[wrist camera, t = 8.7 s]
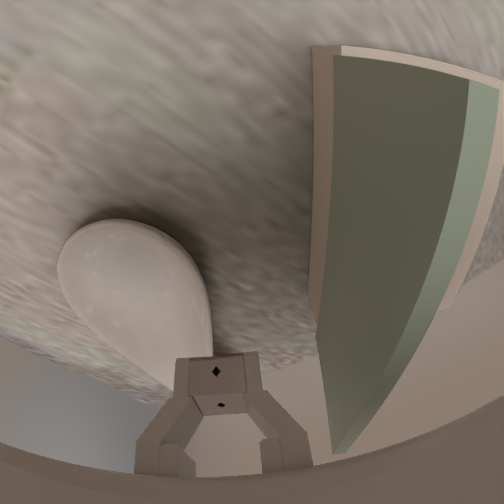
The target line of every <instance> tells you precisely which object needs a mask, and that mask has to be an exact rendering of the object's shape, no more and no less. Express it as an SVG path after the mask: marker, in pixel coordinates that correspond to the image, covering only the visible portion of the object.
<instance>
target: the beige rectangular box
mask: <svg viewBox="0 0 504 504" xmlns="http://www.w3.org/2000/svg"><path fill="white" fill-rule="evenodd" d="M333 55H342V56H354V57H363V58H371V59H378V60H385V61H392V62H398V63H403V64H409V65H414V66H419V67H423V68H428V69H432V70H436V71H440V72H444V73H448V74H452V75H456V76H459V77H463V78H466V79H469V80H473V81H476V82H479V83H482V84H485V85H488V86H491V87H494V88H496V89H499V90H500V93H499V103H498V111H497V119H496V126H495V132H494V138H493V143H492V149H491V154H490V159H489V163H488V168H487V172H486V176H485V180H484V184H483V188H482V192H481V196H480V199H479V203H478V206H477V210H476V213H475V216H474V219H473V222H472V225H471V228H470V231H469V234H468V237H467V240H466V243H465V246H464V248H463V251H462V254H461V256H460V259H459V261H458V264H457V267H456V269H455V271H454V274H453V276H452V279H451V281H450V283H449V286H448V288H447V290H446V292H445V295H444V297H443V299H442V301H441V303H440V305H439V307H438V309H437V312H440V311H444V310H448V309H451V307H452V305H453V303H454V301H455V299H456V297H457V295H458V293H459V291H460V289H461V287H462V285H463V282H464V280H465V278H466V276H467V273H468V271H469V269H470V267H471V264H472V262H473V259H474V257H475V254H476V252H477V249H478V247H479V244H480V242H481V239H482V236H483V233H484V231H485V228H486V225H487V222H488V219H489V216H490V213H491V210H492V207H493V203H494V200H495V197H496V193H497V190H498V186H499V182H500V178H501V174H502V170H503V166H504V81H501V80H499V79H496V78H493V77H491V76H488V75H485V74H482V73H479V72H476V71H473V70H469V69H466V68H463V67H459V66H456V65H452V64H448V63H445V62H441V61H437V60H432V59H428V58H424V57H419V56H414V55H409V54H404V53H398V52H392V51H386V50H379V49H371V48H363V47H353V46H342V45H336V46H312V69H313V117H314V148H313V199H312V225H311V245H310V263H309V278H308V292H307V293H308V296H309V299H310V303H311V306H312V309H313V312H314V316H315V319H316V323H317V325H318V317H319V310H320V302H321V294H322V285H323V276H324V267H325V257H326V247H327V236H328V223H329V210H330V195H331V177H332V155H333V115H334V79H333ZM437 312H436V313H437Z"/></svg>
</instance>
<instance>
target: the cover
mask: <svg viewBox="0 0 504 504" xmlns="http://www.w3.org/2000/svg"><path fill="white" fill-rule="evenodd" d="M333 79H334V115H333V155H332V177H331V195H330V210H329V223H328V236H327V247H326V257H325V267H324V276H323V285H322V294H321V302H320V310H319V317H318V325H317V332H316V341H317V347H318V353H319V359H320V364H321V365H320V366H321V372H322V379H323V385H324V392H325V399H326V406H327V413H328V422H329V429H330V437H331V445H332V454H340V453H345V452H346V451H347V450H348V449H349V447H350V446H351V445H352V444H353V442H354V441H355V440H356V439H357V438H358V436H359V435H360V434H361V432H362V431H363V430H364V429H365V427H366V426H367V425H368V423H369V422H370V420H371V419H372V418H373V416H374V415H375V414H376V412H377V411H378V409H379V408H380V407H381V405H382V404H383V402H384V401H385V399H386V398H387V396H388V395H389V393H390V392H391V390H392V389H393V387H394V386H395V384H396V383H397V381H398V379H399V378H400V376H401V375H402V373H403V372H404V370H405V368H406V367H407V365H408V363H409V362H410V360H411V358H412V357H413V355H414V353H415V351H416V349H417V348H418V346H419V344H420V342H421V341H422V338H423V337H424V335H425V333H426V331H427V329H428V327H429V325H430V323H431V321H432V320H433V318H434V316H435V314H436V312H437V309H438V307H439V305H440V303H441V301H442V299H443V297H444V295H445V292H446V290H447V288H448V286H449V283H450V281H451V279H452V276H453V274H454V271H455V269H456V267H457V264H458V261H459V259H460V256H461V254H462V251H463V248H464V246H465V243H466V240H467V237H468V234H469V231H470V228H471V225H472V222H473V219H474V216H475V213H476V210H477V206H478V203H479V199H480V196H481V192H482V188H483V184H484V180H485V176H486V172H487V168H488V163H489V159H490V154H491V149H492V143H493V138H494V132H495V126H496V119H497V111H498V103H499V93H500V90H499V89H496V88H494V87H491V86H488V85H485V84H482V83H479V82H476V81H473V80H469V79H466V78H463V77H459V76H456V75H452V74H448V73H444V72H440V71H436V70H432V69H428V68H423V67H419V66H414V65H409V64H403V63H398V62H392V61H385V60H378V59H371V58H363V57H354V56H342V55H333Z"/></svg>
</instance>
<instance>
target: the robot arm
mask: <svg viewBox="0 0 504 504" xmlns="http://www.w3.org/2000/svg"><path fill="white" fill-rule="evenodd" d="M238 413H247V414H248V415H249V416H250V418H251V419H252V420H253V422H254V423H255V424H256V425H257V426H258V428H259V429H260V430H261V431H262V432H263V434H264V435H265V436H266V437H267V439H263V440H262V441H261V442H260V453H261V463H262V472H263V473H262V474H252V475H239V476H221V477H196V463H195V461H193V460H192V459H191V458H190V457H189V456H188V455H187V454H186V453H185V452H184V450H185V448H186V446H187V445H188V443H189V441H190V439H191V438H192V436H193V434H194V433H195V431H196V429H197V428H198V426H199V424H200V422H201V420H202V419H203V416H209V415H222V414H238ZM0 504H504V396H501V397H499V398H497V399H495V400H493V401H492V402H490V403H488V404H486V405H484V406H482V407H481V408H479V409H477V410H475V411H473V412H471V413H469V414H467V415H465V416H463V417H461V418H459V419H457V420H455V421H452V422H450V423H448V424H446V425H444V426H441V427H439V428H437V429H434V430H432V431H430V432H427V433H425V434H422V435H419V436H417V437H414V438H412V439H409V440H407V441H403V442H401V443H398V444H395V445H392V446H389V447H386V448H383V449H379V450H376V451H373V452H369V453H366V454H363V455H359V456H355V457H351V458H347V459H343V460H339V461H334V462H330V463H326V464H321V465H315V466H313V461H312V457H311V451H310V446H309V440H308V435H307V432H306V431H305V430H304V429H303V428H302V427H301V426H300V425H299V424H298V423H297V422H296V421H295V420H294V419H293V418H292V417H291V415H290V414H288V412H286V410H285V409H284V408H283V407H282V406H281V405H280V404H279V403H278V402H277V401H276V400H275V399H274V398H273V397H272V396H271V394H270V393H269V392H268V391H266V390H265V391H263V389H262V382H261V374H260V366H259V358H258V352H257V351H254V352H246V353H244V354H243V353H234V354H226V355H217V356H206V357H188V358H177V359H176V362H175V375H174V391H173V397H169V399H168V400H167V401H166V403H165V404H164V405H163V407H162V408H161V409H160V411H159V412H158V413H157V415H156V416H155V417H154V419H153V420H152V421H151V422H150V424H149V425H148V427H147V428H146V429H145V430H144V432H143V433H142V434H141V436H140V437H139V438H138V439H137V441H136V451H135V466H134V474H132V473H124V472H116V471H109V470H103V469H97V468H91V467H86V466H80V465H76V464H72V463H67V462H63V461H59V460H54V459H51V458H47V457H44V456H40V455H36V454H33V453H30V452H27V451H24V450H21V449H18V448H15V447H12V446H9V445H6V444H4V443H1V442H0Z"/></svg>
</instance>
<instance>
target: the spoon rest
mask: <svg viewBox="0 0 504 504" xmlns="http://www.w3.org/2000/svg"><path fill="white" fill-rule="evenodd" d="M57 275H58V280H59V284H60V287H61V290H62V292H63V294H64V296H65V298H66V300H67V301H68V303H69V305H70V306H71V307H72V309H73V310H74V312H75V313H76V314H77V315H78V316H79V318H80V319H81V320H82V321H83V322H84V323H85V324H86V325H87V326H88V327H89V328H90V329H91V330H93V331H94V332H95V333H96V334H97V335H98V336H99V337H101V338H102V339H103V340H104V341H106V342H107V343H108V344H109V345H111V346H112V347H113V348H115V349H116V350H117V351H118V352H120V353H121V354H122V355H124V356H125V357H126V358H127V359H129V360H130V361H132V362H133V363H134V364H136V365H137V366H138V367H140V368H141V369H142V370H144V371H145V372H147V373H148V374H149V375H151V376H152V377H153V378H155V379H156V380H158V381H159V382H161V383H162V384H163V385H165V386H166V387H168V388H169V389H171V390H172V391H174V375H175V362H176V359H177V358H188V357H206V356H213V331H212V319H211V308H210V302H209V297H208V293H207V289H206V286H205V283H204V281H203V278H202V276H201V273H200V271H199V269H198V267H197V266H196V264H195V262H194V260H193V259H192V258H191V256H190V255H189V254H188V252H187V251H186V250H185V249H184V248H183V247H182V246H181V245H180V244H179V243H178V242H177V241H176V240H174V239H173V238H172V237H170V236H169V235H167V234H166V233H164V232H162V231H160V230H159V229H157V228H154V227H152V226H150V225H147V224H144V223H141V222H137V221H132V220H126V219H106V220H101V221H98V222H94V223H91V224H88V225H86V226H84V227H82V228H80V229H79V230H77V231H76V232H75V233H73V234H72V235H71V236H70V237H69V238H68V239H67V241H66V242H65V243H64V245H63V247H62V249H61V251H60V253H59V256H58V260H57Z"/></svg>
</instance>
